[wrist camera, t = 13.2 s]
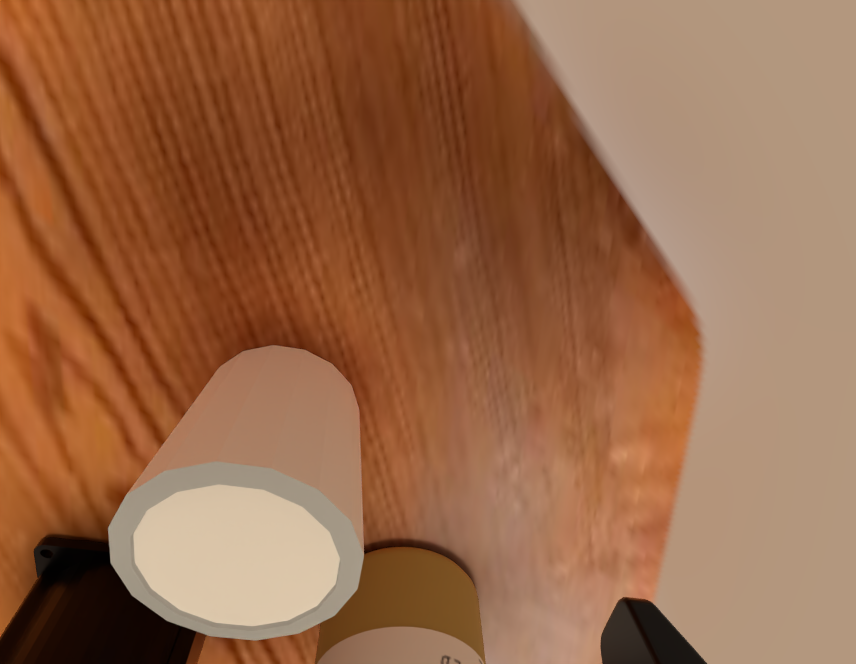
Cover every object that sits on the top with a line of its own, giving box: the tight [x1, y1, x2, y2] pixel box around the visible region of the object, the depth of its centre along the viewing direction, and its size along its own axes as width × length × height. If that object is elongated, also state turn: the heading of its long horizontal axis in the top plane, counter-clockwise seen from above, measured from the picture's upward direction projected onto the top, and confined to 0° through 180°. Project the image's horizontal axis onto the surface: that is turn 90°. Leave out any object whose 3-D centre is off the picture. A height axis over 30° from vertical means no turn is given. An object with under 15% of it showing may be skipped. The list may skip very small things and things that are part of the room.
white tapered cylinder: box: [108, 345, 364, 640], centre depth 20 cm, size 7×7×7 cm
